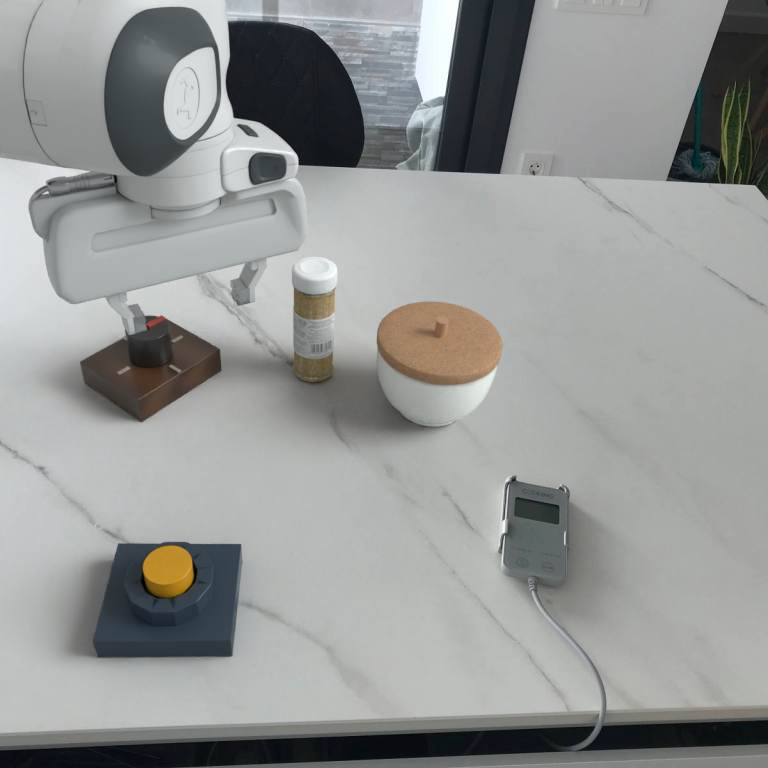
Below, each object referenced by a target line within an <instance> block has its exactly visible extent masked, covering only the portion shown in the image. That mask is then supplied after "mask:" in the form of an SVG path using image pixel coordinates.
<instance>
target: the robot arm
mask: <svg viewBox="0 0 768 768" xmlns="http://www.w3.org/2000/svg"><path fill="white" fill-rule="evenodd" d="M229 32H230V31H229V22H228V11H227V3H226V0H0V158H1V159H6V160H12V161H18V162H19V161H20V162H26V163H31V164H38V165H45V166H51V167H57V168H63V169H71V170H72V169H73V170H78V171H79V170H80V171H86V172H83V173H79V174H76V175H70V176H64V175H62V176H56V177H52V178H50V179H47V180H46V181H45V184H44V185H43V186H40V187H39V188H37V190H35V191H34V192H33V193H32V194H31V196H30V198H29V200H28V205H27V206H28V207H27V208H28V213H29V217H30V221H31V225H32V229H33V231H34V232H35V233H36V235H38V237H39V238H41V239H42V246H43V256H44V263H45V267H46V273H47V277H48V279H49V282H50V284H51V286H52V289H53V290H54V292H55V294H56V295H57V296H58V298H60V299H61V300H63V301H65V302H66V303H68V304H70V305H78V304H83V303H86V302H90V301H95V300H98V299H102V298H105V300H106V302H107V304H108V305H109V306H110V308H111V309H113V311H114V312H116V313H117V314H118V315H119V316H120V317H121V321H122V325H123V328H124V331H125V330H126V331H127V333H128V335H132V334H136V333H140V332H143V331H147V326H146V324H145V322H146V320H145V316H146V314H145V313H144V311H143V310H142V309H141V306H140V305H139V303H133V304H129V305H128V304H127V302H128V295H127V293H128V292H132V291H136V290H140V289H145V288H149V287H152V286H157V285H160V284H165V283H169V282H170V283H171V282H174V281H178V280H181V279H187V278H190V277H194V276H197V275H202V274H207V273H211V272H215V271H220V270H223V269H227V268H232V267H235V266H240V265H244V266H243V268H242V269H241V272H240V274H239V276H238V277H237V278H234V279H231V280H229V281H230V288H231V291H230V294H231V298H232V300H233V301H234V302H235V303H236V305H237V306H238V307H240V306H243V305H248V304H252V303H255V302H256V293H255V292H256V289H255V287H257V285H258V284H259V282H260V280H261V278H262V276H263V275H264V273H265V271H266V269H267V259H269V258H273V257H277V256H281V255H285V254H290V253H294V252H298V251H299V250H300V249H301V248H302V246H303V245H304V244H305V241H306V240H307V238H308V212H307V201H306V196H305V191H304V187H303V185H302V183H301V182H300V181H299V179H297V177H296V175H297V173H298V171H299V157H298V154H297V153H296V152H295V150H294V149H293V148H292V147H291V145H289V144H288V143H287V142H286V141H285V140H284V139H283V138H282V137H281V136H279V135H278V134H277V133H276V132H275V131H273V130H272V129H270V128H269V127H268V126H266V125H264V124H263V123H261V122H258V121H254V120H249V119H244V118H243V119H242V118H236V117H234V112H233V111H234V110H233V107H232V104H231V102H230V99H229V96H228V91H227V84H226V83H227V82H226V80H227V73H228V72H227V71H228V68H229V63H230V58H231V51H230V33H229ZM47 192H48V193H47Z"/></svg>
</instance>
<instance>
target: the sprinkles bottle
mask: <svg viewBox="0 0 768 768" xmlns="http://www.w3.org/2000/svg"><path fill="white" fill-rule="evenodd" d="M291 284H292V287H293V306H292V307H293V308H292V315H293V316H292V321H293V322H292V325H293V327H292V329H293V332H292V333H293V335H292V336H293V337H292V338H293V343H292V347H293V364H292V371H293V374H294V375H295V377H297V379H300V380H301V381H305V382H308V383H319V382H322V381H325V380H328V378H330V377H331V376H332V375H333V372H334V363H333V359H334V344H335V343H334V341H335V317H336V315H335V313H336V312H335V311H336V289H337V285H338V267H337V265H336V264H335V263H334V262H333V261H332V260H330V259H328V258H327V257H326V258H325V257H321V256H307V257H306V256H305V257H303V258H300V259H298V260H297V261H296V262H294V264H293V265H292V268H291Z"/></svg>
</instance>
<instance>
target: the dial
mask: <svg viewBox="0 0 768 768" xmlns="http://www.w3.org/2000/svg"><path fill="white" fill-rule="evenodd" d="M165 318H166V316H164V315H162V314H161V315H159V316H158V315H151V314H150V315H149V314H147V315H145V320H146V322H145V324H146V326H147V331H143V332H140V333H136V334H132V335H128V333H127V331H126V330H125V329H124V335H125V337H126V341H127V347H128V352H129V358H130V360H131V362H132V363H134V364H135V365H137V366H140V367H157V366H160V365H163V364H165V363H166V362H168V361H169V360H170V359H171V357H172V355H173V350H172V342H171V334H170V326H169V323H168V322H167V321H166V320H165Z"/></svg>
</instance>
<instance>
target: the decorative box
mask: <svg viewBox="0 0 768 768" xmlns="http://www.w3.org/2000/svg"><path fill="white" fill-rule="evenodd" d="M376 346H377V347H376V367H377V368H376V371H377V375H378V380H379V385H380V387H381V389H382V392H383V394H384V396H385V397H386V398H387V400H388V402H389V403H390V404H391V406H393V407H394V408H395V409H396V410H397V411H398V412H399V413H400V414H401V415H402V416H403V417H404V418H405V419H406V420H408V421H410V422H411V423H414V424H415V425H419V426H424V427H429V428H439V427H445V426H449V425H451V424H453V423H455V422H456V421H458V420H461V419H463V418H465V417H467V416H468V415H470V414H471V413H473V412H474V411H475V410H476V409H478V407H479V406H480V405H481V404H482V402H483V401H484V400H485V398H486V397H487V395H488V393H489V392H490V390H491V387H492V385H493V382H494V379H495V377H496V374H497V369H498V366H499V363H500V360H501V358H502V353H503V339H502V336H501V334H500V332H499V331H498V329H497V328H496V327H495V325H494V324H493V323H492V322H491V321H490V320H489V319H487V318H486V317H485V316H483V315H481V313H479V312H477V311H474V310H472V309H470V308H467V307H465V306H462V305H459V304H455V303H450V302H445V301H418V302H411V303H408V304H404V305H402V306H399V307H397V308H395V309H392V310H391V311H390V312H388V313H387V314H386V315H385V316H384V317H383V318H382V319H381V321H380V322H379V323H378V327H377V330H376Z"/></svg>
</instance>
